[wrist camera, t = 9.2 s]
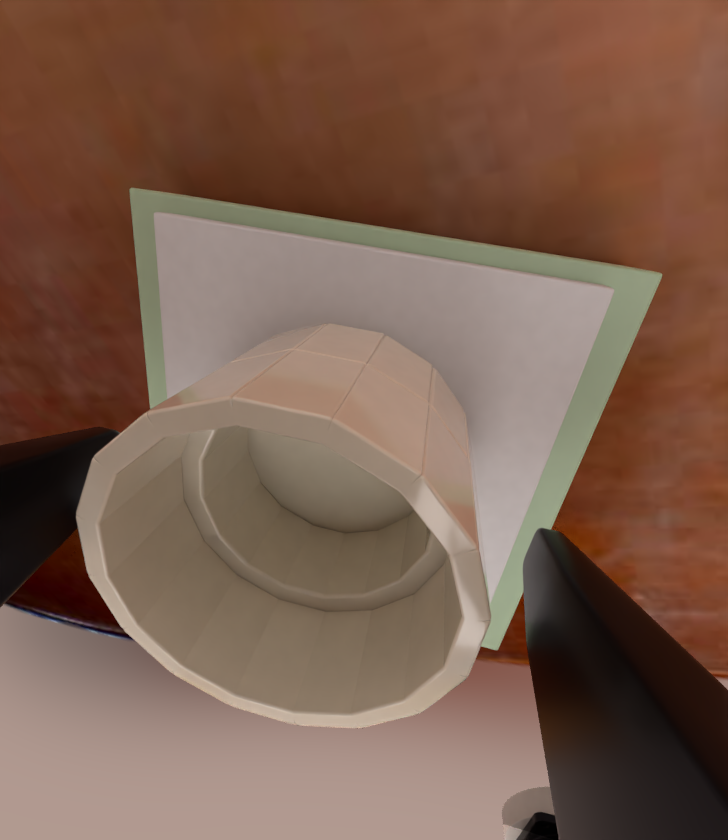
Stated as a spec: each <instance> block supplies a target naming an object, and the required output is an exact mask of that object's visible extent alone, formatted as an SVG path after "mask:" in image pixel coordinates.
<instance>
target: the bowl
mask: <svg viewBox="0 0 728 840" xmlns="http://www.w3.org/2000/svg"><path fill="white" fill-rule="evenodd" d="M76 522H77V526H78V531H79V536H80V541H81V545H82V550H83V555H84V560H85V564H86V569H87V573H88V574H89V578H90V579H91V581H92V582H93V584H94V585H95V587H96V589H97V590H98V592H99V593H100V595H101V596H102V598H103V600H104V601H105V603H106V604H107V606H108V607H109V609H110V611H111V612H112V614H113V615H114V617H115V618H116V620H117V622H118V623H119V625H120V626H121V627H122V628H124V631H125V632H126V633H127V634H128V635H130V636H131V637H132V638H133V639H134V640H135V641H136V642H137V643H138V644H140V645H141V646H142V647H143V648H144V649H145V650H146V651H147V652H149V653H150V654H151V655H152V656H153V657H154V658H155V659H156V660H157V661H158V662H160V663H161V664H162V665H163V666H164V667H165V668H166V669H167V670H168V671H170V672H173V674H174V675H175V676H177V677H179V678H181V679H183V680H185V681H186V682H188V683H190V684H192V685H193V686H195V687H197V688H199V689H201V690H202V691H204V692H206V693H208V694H210V695H211V696H213V697H215V698H217V699H219V700H221V701H222V702H224V703H226V704H228V705H232V706H233V707H235V708H238V709H242V710H245V711H249V712H252V713H255V714H259V715H262V716H265V717H269V718H272V719H276V720H279V721H282V722H286V723H289V724H296V725H298V726H319V727H338V728H357V729H358V728H359V727H360V728H365V727H368V726H373V725H377V724H381V723H385V722H389V721H393V720H397V719H401V718H405V717H409V716H412V715H417V714H419V713H420V712H423V711H425V710H426V709H427V708H428V707H430V706H431V705H432V704H434V703H435V702H437V701H438V700H439V699H440V698H442V697H443V696H444V695H446V694H447V693H448V692H450V691H451V690H452V689H454V688H455V687H457V686H458V685H459V684H461V683H462V682H463V681H464V680H466V678H467V677H468V676H469V674H470V671H471V669H472V666H473V664H474V662H475V659H476V657H477V654H478V652H479V649H480V647H481V645H482V642H483V640H484V637H485V635H486V632H487V630H488V627H489V625H490V623H491V620H490V619H491V610H490V601H489V592H488V583H487V574H486V565H485V556H484V547H483V538H482V529H481V521H480V512H479V503H478V494H477V485H476V476H475V467H474V459H473V453H472V447H471V441H470V435H469V429H468V423H467V417H466V413H465V412H464V409H463V408H462V406H461V405H460V403H459V402H458V400H457V399H456V397H455V396H454V395H453V393H452V392H451V390H450V389H449V387H448V386H447V384H446V383H445V381H444V380H443V378H442V377H441V375H440V374H439V372H438V371H437V370H436V369H435V368H433V366H432V364H430V363H429V362H427V361H426V360H424V359H423V358H421V357H420V356H418V355H417V354H415V353H413V352H412V351H410V350H409V349H407V348H406V347H404V346H403V345H401V344H400V343H398V342H396V341H395V340H393V339H392V338H390V337H389V336H386V335H385V336H384V334H383V333H379V332H374V331H368V330H363V329H358V328H353V327H347V326H342V325H337V324H331V323H328V324H325V323H324V324H320V325H315V326H311V327H306V328H302V329H298V330H293V331H289V332H285V333H280V334H276V335H275V336H272V337H271V338H269V339H267V340H266V341H264V342H262V343H260V344H259V345H257V346H255V347H254V348H252V349H250V350H249V351H247V352H245V353H244V354H242V355H240V356H239V357H237V358H235V359H234V360H232V361H230V362H229V363H227V364H226V365H224V366H222V367H220V368H219V369H217V370H215V371H214V372H212V373H210V374H209V375H207V376H205V377H204V378H202V379H200V380H199V381H197V382H195V383H194V384H192V385H190V386H189V387H187V388H185V389H184V390H182V391H180V392H179V393H177V394H175V395H174V396H172V397H170V398H169V399H167V400H165V401H163V402H162V403H160V404H158V405H157V406H155V407H153V408H152V409H150V410H148V411H147V412H145V413H144V414H142V415H141V416H140V417H139V418H138V419H136V420H135V421H134V422H133V423H132V424H130V425H129V426H128V427H127V428H126V429H125V430H123V431H122V432H121V433H120V434H119V435H117V436H116V437H115V438H114V439H113V440H111V441H110V442H109V443H108V444H107V445H105V446H104V447H103V448H102V449H101V450H99V451H98V452H97V453H96V454H95V455H94V457H93V458H92V460H91V464H90V467H89V470H88V474H87V477H86V480H85V484H84V487H83V490H82V494H81V497H80V500H79V504H78V507H77V510H76Z"/></svg>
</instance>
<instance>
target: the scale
mask: <svg viewBox="0 0 728 840" xmlns="http://www.w3.org/2000/svg"><path fill="white" fill-rule="evenodd" d="M129 192H130V203H131V213H132V224H133V234H134V245H135V255H136V266H137V276H138V287H139V297H140V308H141V318H142V329H143V339H144V350H145V360H146V371H147V381H148V392H149V402H150V409H152V408H153V407H155V406H157V405H158V404H160V403H162V402H163V401H165V400H167V399H169V398H170V397H172V396H174V395H175V394H177V393H179V392H180V391H182V390H184V389H185V388H187V387H189V386H190V385H192V384H194V383H195V382H197V381H199V380H200V379H202V378H204V377H205V376H207V375H209V374H210V373H212V372H214V371H215V370H217V369H219V368H220V367H222V366H224V365H226V364H227V363H229V362H230V361H232V360H234V359H235V358H237V357H239V356H240V355H242V354H244V353H245V352H247V351H249V350H250V349H252V348H254V347H255V346H257V345H259V344H260V343H262V342H264V341H266V340H267V339H269V338H271V337H272V336H275V335H276V334H280V333H285V332H289V331H293V330H298V329H302V328H306V327H311V326H315V325H320V324H324V323H325V324H328V323H331V324H337V325H342V326H347V327H353V328H358V329H363V330H368V331H374V332H379V333H383V334H384V336H385V335H386V336H389V337H390V338H392V339H393V340H395V341H396V342H398V343H400V344H401V345H403V346H404V347H406V348H407V349H409V350H410V351H412V352H413V353H415V354H417V355H418V356H420V357H421V358H423V359H424V360H426V361H427V362H429V363H430V364H432V366H433V368H435V369H436V370H437V371H438V372H439V374H440V375H441V377H442V378H443V380H444V381H445V383H446V384H447V386H448V387H449V389H450V390H451V392H452V393H453V395H454V396H455V397H456V399H457V400H458V402H459V403H460V405H461V406H462V408H463V409H464V412H465V413H466V417H467V423H468V429H469V435H470V441H471V447H472V453H473V459H474V467H475V476H476V485H477V494H478V503H479V512H480V521H481V529H482V538H483V547H484V556H485V565H486V574H487V583H488V592H489V601H490V610H491V619H490V620H491V623H490V625H489V627H488V630H487V632H486V635H485V637H484V640H483V642H482V645H481V646H482V647H486V648H489V649H493V650H498V648H499V646H500V644H501V642H502V639H503V637H504V635H505V633H506V630H507V628H508V626H509V623H510V621H511V619H512V617H513V614H514V612H515V610H516V608H517V605H518V603H519V601H520V598H521V596H522V594H523V592H524V588H523V561H524V558H525V555H526V553H527V551H528V548H529V546H530V543H531V541H532V539H533V536H534V534H535V532H536V531H537V529H539V528H546V529H550V530H551V528H552V526H553V523H554V521H555V519H556V517H557V514H558V512H559V510H560V508H561V505H562V503H563V501H564V499H565V496H566V494H567V492H568V489H569V487H570V485H571V483H572V480H573V478H574V476H575V474H576V471H577V469H578V467H579V464H580V462H581V460H582V458H583V455H584V453H585V451H586V449H587V446H588V444H589V442H590V439H591V437H592V435H593V433H594V430H595V428H596V426H597V424H598V421H599V419H600V417H601V414H602V412H603V410H604V408H605V405H606V403H607V401H608V399H609V396H610V394H611V392H612V389H613V387H614V385H615V383H616V380H617V378H618V376H619V374H620V371H621V369H622V367H623V365H624V362H625V360H626V358H627V355H628V353H629V351H630V349H631V346H632V344H633V342H634V340H635V337H636V335H637V333H638V330H639V328H640V326H641V324H642V321H643V319H644V317H645V315H646V312H647V310H648V308H649V305H650V303H651V301H652V299H653V296H654V294H655V292H656V290H657V287H658V285H659V283H660V280H661V278H662V274H661V273H659V272H654V271H649V270H644V269H639V268H634V267H628V266H623V265H617V264H611V263H604V262H598V261H592V260H586V259H579V258H573V257H567V256H561V255H555V254H548V253H542V252H536V251H530V250H523V249H517V248H511V247H505V246H499V245H492V244H486V243H480V242H474V241H468V240H461V239H455V238H449V237H443V236H436V235H430V234H424V233H418V232H412V231H405V230H399V229H393V228H387V227H380V226H374V225H368V224H362V223H356V222H349V221H343V220H337V219H331V218H324V217H318V216H312V215H306V214H300V213H293V212H287V211H281V210H275V209H269V208H262V207H256V206H250V205H244V204H237V203H231V202H225V201H219V200H213V199H206V198H200V197H194V196H188V195H181V194H175V193H167V192H160V191H153V190H146V189H139V188H130V190H129Z"/></svg>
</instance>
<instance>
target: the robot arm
mask: <svg viewBox="0 0 728 840" xmlns="http://www.w3.org/2000/svg"><path fill="white" fill-rule="evenodd" d="M119 434H120V433H119V432H118V431H116V430H113V429H108V428H104V427H94V428H89V429H84V430H79V431H73V432H68V433H63V434H58V435H52V436H47V437H42V438H37V439H31V440H26V441H21V442H16V443H10V444H5V445H0V607H1V606H2V605H3V604H4V603H5V602H6V601H7V600H8V599H9V598H10V597H11V596H12V595H13V594H14V593H15V592H16V591H17V590H18V589H19V588H20V587H21V586H22V585H23V584H24V583H25V582H26V581H27V580H28V579H29V578H30V577H31V575H32V574H33V573H34V572H35V571H36V570H37V569H38V568H39V567H40V566H41V565H42V564H43V563H44V562H45V561H46V560H47V559H48V558H49V557H50V556H51V555H52V554H53V553H54V552H55V551H56V550H57V549H58V548H59V547H60V546H61V545H62V544H63V543H64V542H65V540H66V539H67V538H68V537H69V536H70V535H71V534H72V533H73V532H74V531H75V530H76V529H77V528H78V526H77V522H76V510H77V507H78V504H79V500H80V497H81V494H82V490H83V487H84V484H85V480H86V477H87V474H88V470H89V467H90V464H91V460H92V458H93V457H94V455H95V454H96V453H97V452H98V451H99V450H101V449H102V448H103V447H104V446H105V445H107V444H108V443H109V442H110V441H111V440H113V439H114V438H115V437H116V436H117V435H119ZM523 588H524V607H525V627H526V641H527V650H528V657H529V663H530V669H531V675H532V681H533V687H534V693H535V698H536V704H537V711H538V717H539V723H540V728H541V734H542V740H543V746H544V752H545V758H546V764H547V770H548V776H549V782H550V788H551V794H552V800H553V806H554V812H555V816H554V815H551V814H548V813H544V812H536V813H534V814H533V816H532V817H531V819H530V820H529V822H528V823H527V825H526V826H525V828H524V829H523V830H522V832H521V833H520V835H519V836H518V838H517V839H516V840H728V690H727V689H726V688H725V687H724V686H723V685H722V684H721V683H720V682H719V681H718V680H717V679H716V678H715V677H714V676H713V675H712V674H711V673H709V672H708V671H707V670H706V669H705V668H704V667H703V666H702V665H701V664H700V663H699V662H698V661H697V660H696V659H695V658H694V657H693V656H691V655H690V654H689V653H688V652H687V651H686V650H685V649H684V648H683V647H682V646H681V645H680V644H679V643H678V642H677V641H676V640H675V639H674V638H672V637H671V636H670V635H669V634H668V633H667V632H666V631H665V630H664V629H663V628H662V627H661V626H660V625H659V624H658V623H657V622H656V621H654V620H653V619H652V618H651V617H650V616H649V615H648V614H647V613H646V612H645V611H644V610H643V609H642V608H641V607H640V606H639V605H638V604H637V603H635V602H634V601H633V600H632V599H631V598H630V597H629V596H628V595H627V594H626V593H625V592H624V591H623V590H622V589H621V588H620V587H619V586H617V585H616V584H615V583H614V582H613V581H612V580H611V579H610V578H609V577H608V576H607V575H606V574H605V573H604V572H603V571H602V570H601V569H600V568H598V567H597V566H596V565H595V564H594V563H593V562H592V561H591V560H590V559H589V558H588V557H587V556H586V555H585V554H584V553H583V552H582V551H580V550H579V549H578V548H577V547H576V546H575V545H574V544H573V543H572V542H571V541H570V540H569V539H568V538H567V537H566V536H565V535H564V534H562V533H561V532H559V531H555V530H550V529H546V528H539V529H537V531H536V532H535V534H534V536H533V539H532V541H531V543H530V546H529V548H528V551H527V553H526V555H525V558H524V561H523Z"/></svg>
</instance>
